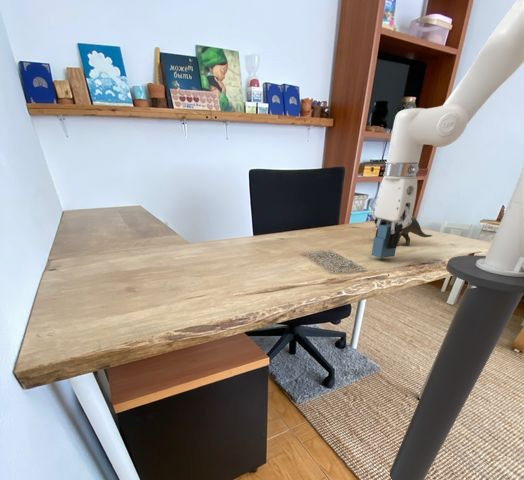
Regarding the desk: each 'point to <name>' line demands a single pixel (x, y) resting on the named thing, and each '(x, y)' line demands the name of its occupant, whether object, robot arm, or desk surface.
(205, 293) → the desk surface
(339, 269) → the rug
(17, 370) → the desk surface
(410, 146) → the robot arm
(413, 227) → the toy dinosaur
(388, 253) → the slate gray tower
